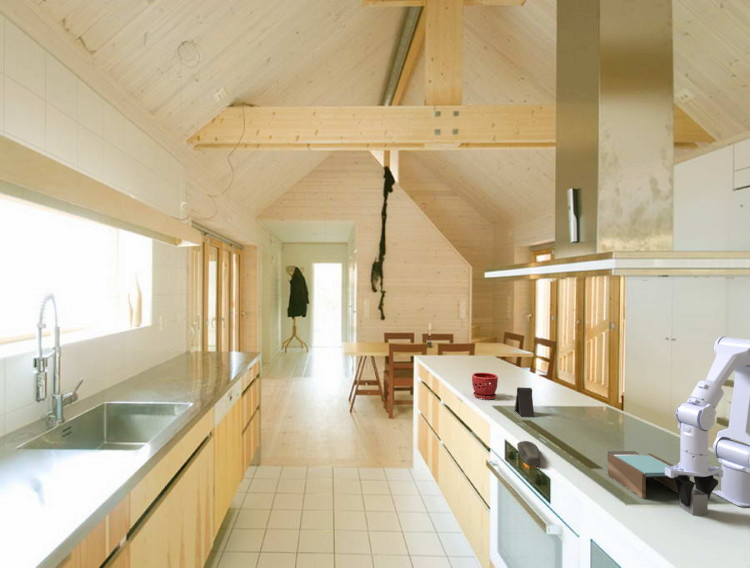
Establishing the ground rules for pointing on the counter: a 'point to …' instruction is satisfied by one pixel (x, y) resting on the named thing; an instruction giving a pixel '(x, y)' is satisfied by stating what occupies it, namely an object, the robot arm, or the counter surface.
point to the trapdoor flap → (642, 462)
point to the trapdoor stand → (635, 475)
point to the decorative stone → (529, 453)
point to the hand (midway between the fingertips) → (693, 504)
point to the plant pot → (484, 385)
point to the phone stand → (524, 402)
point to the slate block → (697, 503)
